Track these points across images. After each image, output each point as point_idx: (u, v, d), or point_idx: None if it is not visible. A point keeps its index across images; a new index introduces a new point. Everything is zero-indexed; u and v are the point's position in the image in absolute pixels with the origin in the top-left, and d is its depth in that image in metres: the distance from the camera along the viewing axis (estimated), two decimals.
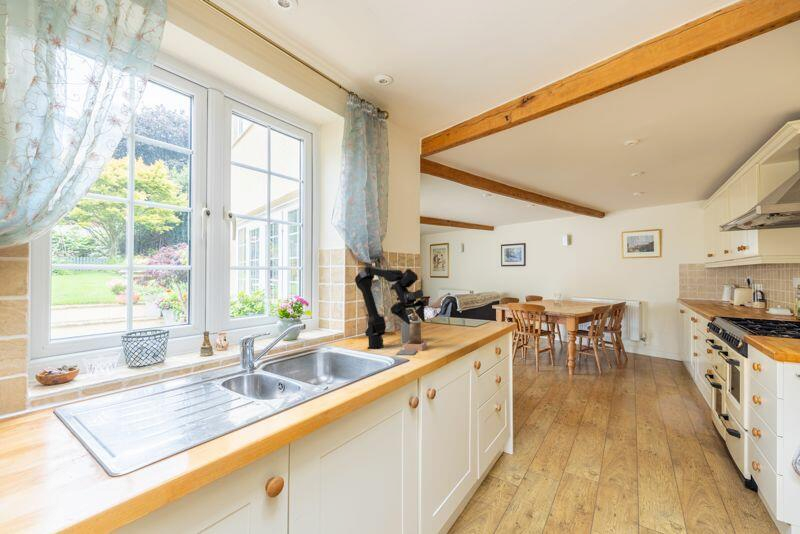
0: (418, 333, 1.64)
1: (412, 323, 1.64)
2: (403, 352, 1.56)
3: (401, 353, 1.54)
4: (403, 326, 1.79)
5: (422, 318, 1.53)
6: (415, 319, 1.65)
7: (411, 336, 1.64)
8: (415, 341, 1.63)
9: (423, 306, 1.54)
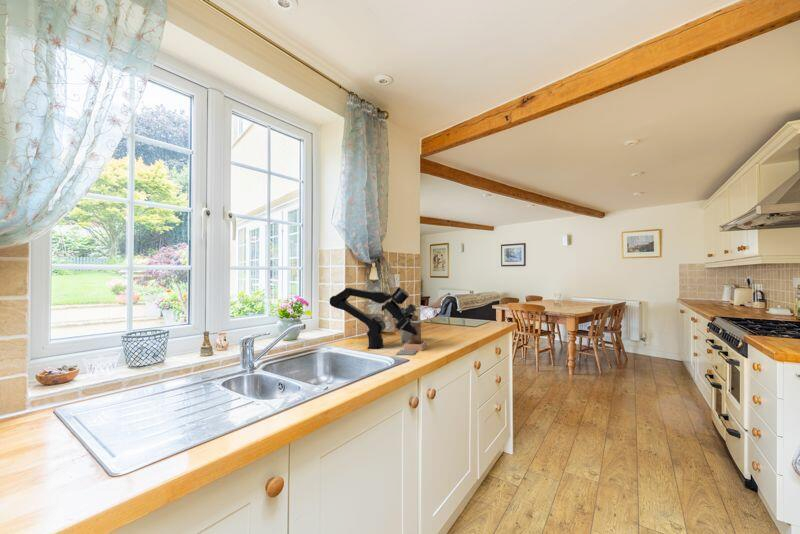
0: (418, 333, 1.64)
1: (412, 323, 1.63)
2: (403, 352, 1.56)
3: (401, 353, 1.54)
4: None
5: None
6: (415, 319, 1.65)
7: (411, 336, 1.64)
8: (415, 341, 1.63)
9: None
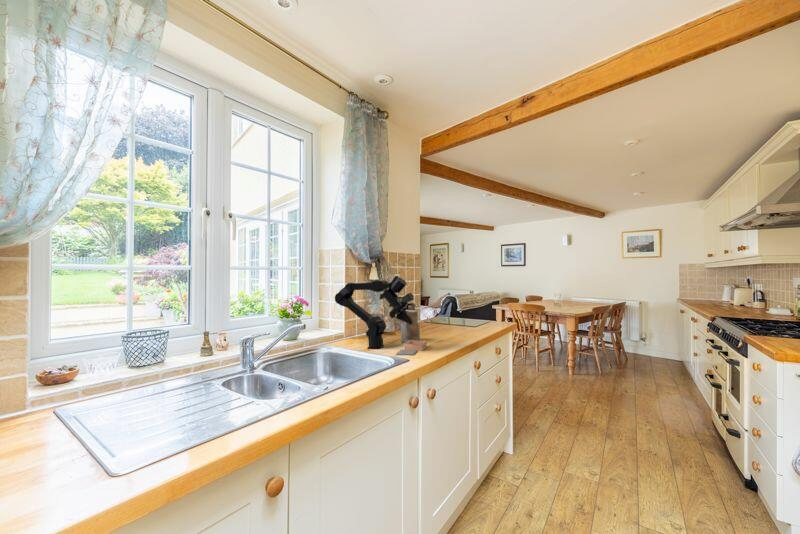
0: (414, 323, 1.59)
1: (408, 312, 1.60)
2: (403, 352, 1.56)
3: (401, 353, 1.54)
4: (403, 326, 1.79)
5: None
6: (411, 308, 1.61)
7: (407, 325, 1.60)
8: (411, 331, 1.59)
9: None
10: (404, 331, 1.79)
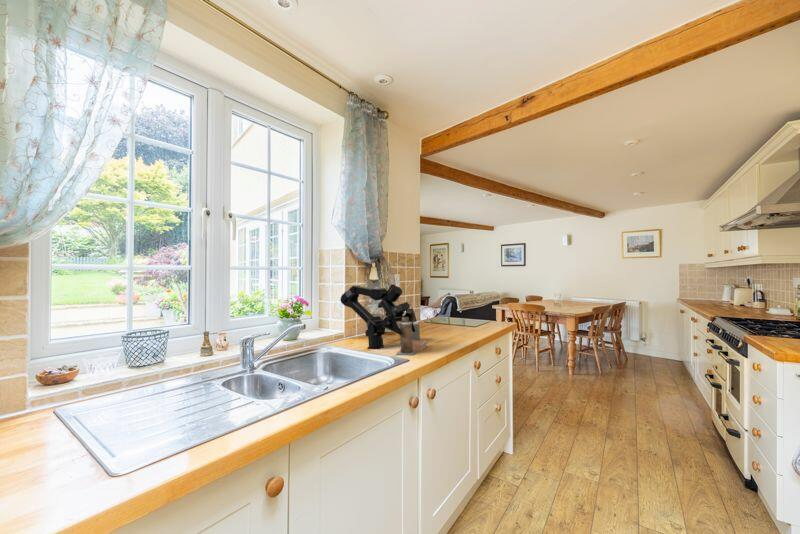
0: (406, 335, 1.55)
1: (401, 325, 1.56)
2: None
3: (401, 353, 1.54)
4: None
5: (412, 329, 1.61)
6: (404, 321, 1.56)
7: (400, 338, 1.57)
8: (403, 344, 1.55)
9: (411, 317, 1.63)
10: None
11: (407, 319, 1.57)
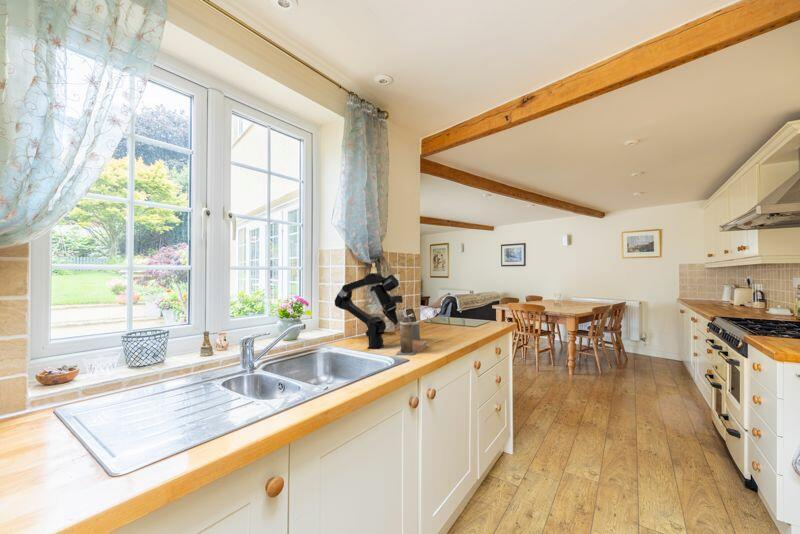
0: (406, 336, 1.55)
1: (401, 325, 1.56)
2: None
3: (401, 353, 1.54)
4: None
5: None
6: (404, 321, 1.56)
7: (400, 338, 1.57)
8: (403, 344, 1.55)
9: None
10: None
11: (407, 319, 1.56)
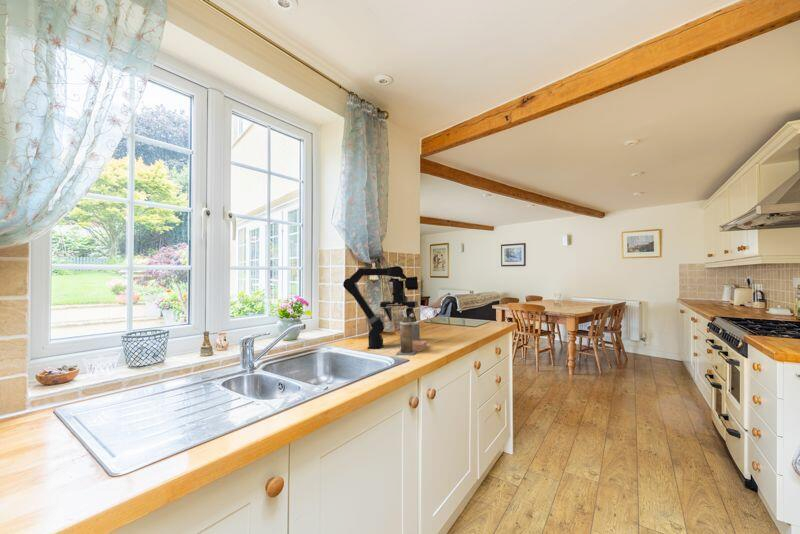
0: (406, 336, 1.55)
1: (401, 325, 1.56)
2: None
3: (401, 353, 1.54)
4: None
5: (391, 318, 1.73)
6: (404, 321, 1.56)
7: (400, 338, 1.57)
8: (403, 344, 1.55)
9: None
10: None
11: (407, 319, 1.56)
